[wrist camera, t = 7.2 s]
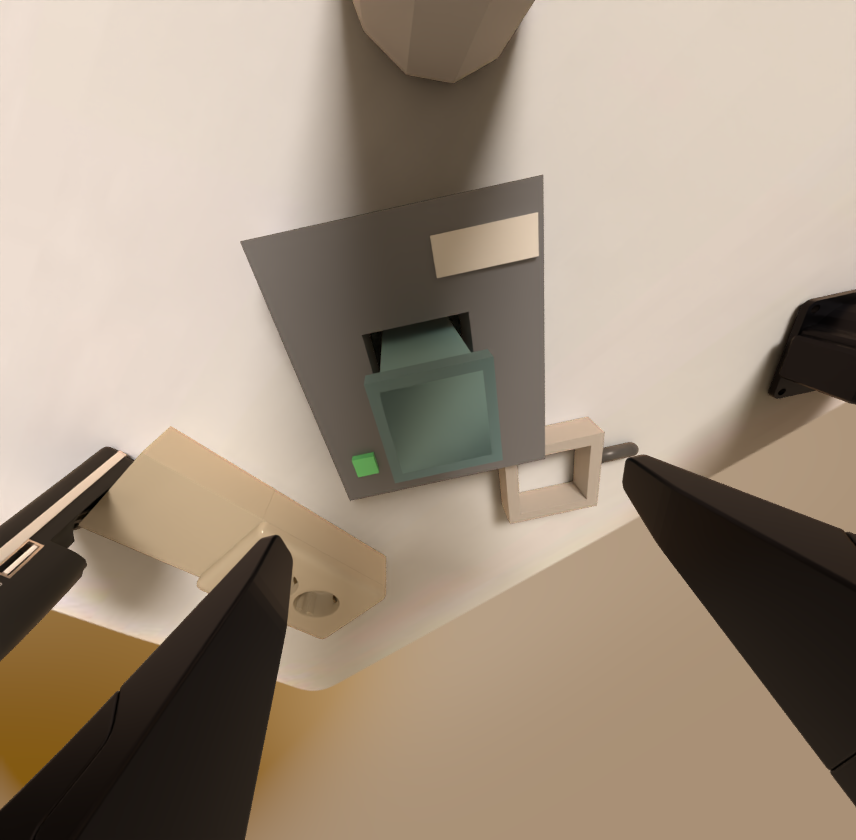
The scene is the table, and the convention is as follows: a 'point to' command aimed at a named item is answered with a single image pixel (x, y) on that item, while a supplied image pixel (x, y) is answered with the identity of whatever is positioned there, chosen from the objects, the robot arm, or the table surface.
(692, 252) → the table surface
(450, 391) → the plug
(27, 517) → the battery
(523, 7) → the water bottle
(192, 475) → the electrical outlet
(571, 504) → the beige frame with handle
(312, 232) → the port panel
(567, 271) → the table surface
